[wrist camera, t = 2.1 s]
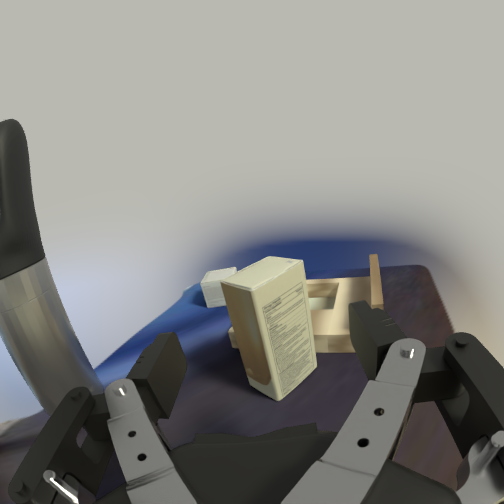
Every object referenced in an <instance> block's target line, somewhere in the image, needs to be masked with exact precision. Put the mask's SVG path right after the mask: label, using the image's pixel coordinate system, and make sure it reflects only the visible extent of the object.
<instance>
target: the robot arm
mask: <svg viewBox="0 0 504 504" xmlns="http://www.w3.org/2000/svg"><path fill="white" fill-rule="evenodd" d="M348 311H349V330H350V339H351V343H352V346H353V348H354V350H355V352H356V354H357V356H358V358H359V361H360V363H361V365H362V367H363V369H364V371H365V373H366V375H367V378H368V380H369V382H368V383H367V385H366V387H365V389H364V391H363V393H362V395H361V396H360V398H359V400H358V402H357V404H356V405H355V407H354V409H353V410H352V412H351V414H350V415H349V417H348V419H347V420H346V422H345V424H344V425H343V427H342V429H341V430H340V432H339V433H336V432H331V431H317V426H316V423H311V424H305V425H299V426H293V427H286V428H283V429H280V430H276V431H273V432H270V433H267V434H263V435H260V436H256V437H246V436H239V435H232V434H226V433H212V434H195V438H194V442H190V443H187V444H184V445H181V446H178V447H176V448H174V449H172V447H171V445H170V444H169V442H168V440H167V439H166V437H165V435H164V433H163V432H162V430H161V428H160V426H159V425H158V423H157V421H158V418H163V419H169V417H170V414H171V411H172V409H173V406H174V403H175V400H176V398H177V395H178V392H179V389H180V387H181V384H182V381H183V379H184V376H185V373H186V370H187V362H186V358H185V355H184V353H183V350H182V348H181V345H180V342H179V340H178V337H177V335H176V334H175V333H174V332H169V333H160V334H158V335H157V337H156V339H155V340H154V342H153V343H152V344H150V345H149V346H148V347H147V348H145V349H144V350H143V352H142V353H141V355H140V356H139V358H138V359H137V361H136V363H135V364H134V366H133V367H132V369H131V370H130V372H129V374H128V375H127V377H126V379H120V380H116V381H114V382H112V383H111V384H110V385H109V386H108V387H107V388H106V390H105V393H103V386H102V384H101V382H100V380H99V379H98V377H97V375H96V373H95V371H94V370H93V368H92V366H91V364H90V362H89V360H88V358H87V356H86V355H85V352H84V351H83V349H82V347H81V345H80V343H79V341H78V338H77V336H76V335H75V332H74V330H73V328H72V325H71V324H70V321H69V319H68V316H67V314H66V311H65V309H64V307H63V304H62V302H61V299H60V297H59V294H58V291H57V289H56V286H55V284H54V281H53V278H52V275H51V272H50V269H49V266H48V262H47V259H46V257H45V253H44V249H43V246H42V242H41V237H40V231H39V226H38V222H37V217H36V212H35V207H34V201H33V194H32V185H31V177H30V164H29V154H28V147H27V140H26V136H25V133H24V130H23V128H22V126H21V125H20V123H19V122H18V121H16V120H14V119H8V120H5V121H2V122H0V336H1V338H2V340H3V342H4V344H5V346H6V348H7V350H8V352H9V354H10V356H11V357H12V359H13V361H14V363H15V365H16V366H17V368H18V370H19V371H20V373H21V375H22V376H23V378H24V380H25V381H26V383H27V385H28V386H29V387H30V389H31V391H32V392H33V394H34V395H35V397H36V398H37V400H38V401H39V403H40V404H41V405H42V407H43V408H44V410H45V411H46V412H47V414H48V415H49V416H50V418H49V420H48V421H47V423H46V425H45V426H44V428H43V429H42V431H41V432H40V434H39V435H38V437H37V438H36V440H35V442H34V443H33V445H32V446H31V448H30V450H29V451H28V453H27V454H26V456H25V458H24V459H23V461H22V463H21V464H20V466H19V468H18V470H17V471H16V473H15V475H14V477H13V478H12V480H11V482H10V484H9V487H8V493H9V496H10V498H11V500H12V501H14V502H15V503H16V504H504V368H503V367H502V366H501V365H500V364H499V362H498V361H497V360H496V359H495V358H494V357H493V356H492V355H491V353H489V351H488V350H487V349H486V348H485V347H484V346H483V345H482V344H481V343H480V342H479V341H478V339H477V338H476V337H474V336H473V335H471V334H468V333H464V332H459V333H454V334H452V335H450V336H449V337H448V338H447V339H446V343H445V346H443V347H435V348H425V345H424V344H423V343H422V342H421V341H419V340H416V339H411V338H407V337H406V336H405V334H404V333H403V332H402V331H401V329H400V328H399V327H398V326H397V324H395V322H394V321H393V319H391V317H390V316H389V315H388V313H387V312H386V311H384V310H382V309H380V308H374V309H372V308H371V307H370V306H369V304H368V303H367V302H366V300H361V301H357V302H353V303H349V305H348ZM428 401H435V403H436V405H437V407H438V409H439V411H440V412H441V414H442V416H443V418H444V420H445V422H446V424H447V426H448V428H449V430H450V432H451V434H452V436H453V439H454V441H455V443H456V445H457V447H458V449H459V451H460V454H461V456H462V458H463V461H462V462H461V464H460V465H459V467H458V470H457V482H458V486H457V490H456V492H455V491H454V490H453V489H451V488H450V487H448V486H446V485H444V484H442V483H440V482H437V481H435V480H433V479H430V478H428V477H426V476H424V475H421V474H419V473H417V472H415V471H413V470H411V469H409V468H406V467H404V466H402V465H400V464H398V463H396V462H394V461H393V460H394V457H395V455H396V453H397V450H398V448H399V445H400V442H401V440H402V437H403V435H404V432H405V429H406V427H407V424H408V422H409V419H410V416H411V413H412V410H413V407H414V404H415V403H419V402H428ZM81 427H83V428H84V429H85V431H86V432H87V433H88V435H87V437H86V439H85V441H84V442H83V444H82V446H81V448H79V447H78V445H77V442H76V437H77V435H78V433H79V431H80V429H81ZM114 448H115V451H116V454H117V457H118V460H119V463H120V466H121V468H122V471H123V474H124V476H125V479H126V482H125V483H124V484H122V485H121V486H119V487H118V488H116V489H115V490H113V491H111V492H110V493H108V494H107V495H105V496H103V497H102V498H100V499H98V500H97V501H96V499H95V496H96V493H97V491H98V488H99V485H100V483H101V480H102V478H103V475H104V472H105V470H106V467H107V465H108V462H109V460H110V457H111V455H112V452H113V450H114Z"/></svg>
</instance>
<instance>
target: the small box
mask: <svg viewBox="0 0 504 504" xmlns="http://www.w3.org/2000/svg"><path fill="white" fill-rule="evenodd" d="M236 272H237V270H236V267H232V268H226V269H221V270H215V271H209V272H207V274H206V275H205V277H204V278H203V280H202V281H201V283H200V285H201V288H202V291H203V294H204V298H205V301H206V304H207V307H208V308H212V307H220V306H227V305H226V302H225V298H224V295H223V291H222V287H221V284H220V281H221V280H223V279H225V278H227V277H229V276H231V275H232V274H234V273H236Z"/></svg>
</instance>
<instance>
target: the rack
mask: <svg viewBox="0 0 504 504" xmlns="http://www.w3.org/2000/svg"><path fill="white" fill-rule="evenodd" d="M370 276H371V277H355V278H337V279H318V280H306V284H307V291H308V298H309V305H310V312H311V320H312V328H313V336H314V344H315V352H318V353H353V352H355V350H354V348H353V346H352V343H351V339H350V330H349V311H348V305H349V303H353V302H357V301H361V300H366V302H367V303H368V304H369V306H370V307H371V308H372V309H374V308H380V309H382V310H383V297H382V287H381V279H380V271H379V263H378V256H377V254H372V255H370ZM228 333H229V337H230V340H231V344H232V347H233V348H239V347H238V344H237V341H236V337H235V334H234V330H233V327H231V328H230V330H229V331H228Z"/></svg>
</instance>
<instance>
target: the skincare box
mask: <svg viewBox="0 0 504 504" xmlns="http://www.w3.org/2000/svg"><path fill="white" fill-rule="evenodd" d="M220 284H221V287H222V291H223V295H224V298H225V302H226V305H227V309H228V313H229V316H230V320H231V323H232V327H233V330H234V334H235V337H236V341H237V344H238V347H239V351H240V354H241V357H242V360H243V364H244V367H245V370H246V374H247V377H248V380H249V383H250V385H251V386H253V387H254V388H256V389H257V390H259V391H260V392H262V393H264V394H265V395H267V396H269V397H271V398H272V399H274V400H276V401H280V400H281V399H282V398H284V397H285V396H286V395H287V394H288V393H290V392H291V391H292V390H293V389H294V388H295V387H296V386H297V385H299V384H300V383H301V382H302V381H303V380H304V379H305V378H306V377H307V376H308V375H309V374H310V373H311V372H312V371H313V370H314V369H315V368H316V367H317V362H316V352H315V344H314V336H313V328H312V320H311V312H310V305H309V298H308V291H307V284H306V277H305V271H304V265H303V261H302V260H295V259H288V258H280V257H271V256H268V257H266V258H264V259H262V260H260V261H258V262H256V263H254V264H252V265H250V266H248V267H246V268H244V269H242V270H240V271H239V272H236V273H234V274H232V275H231V276H229V277H227V278H225V279H223V280H221V281H220Z"/></svg>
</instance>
